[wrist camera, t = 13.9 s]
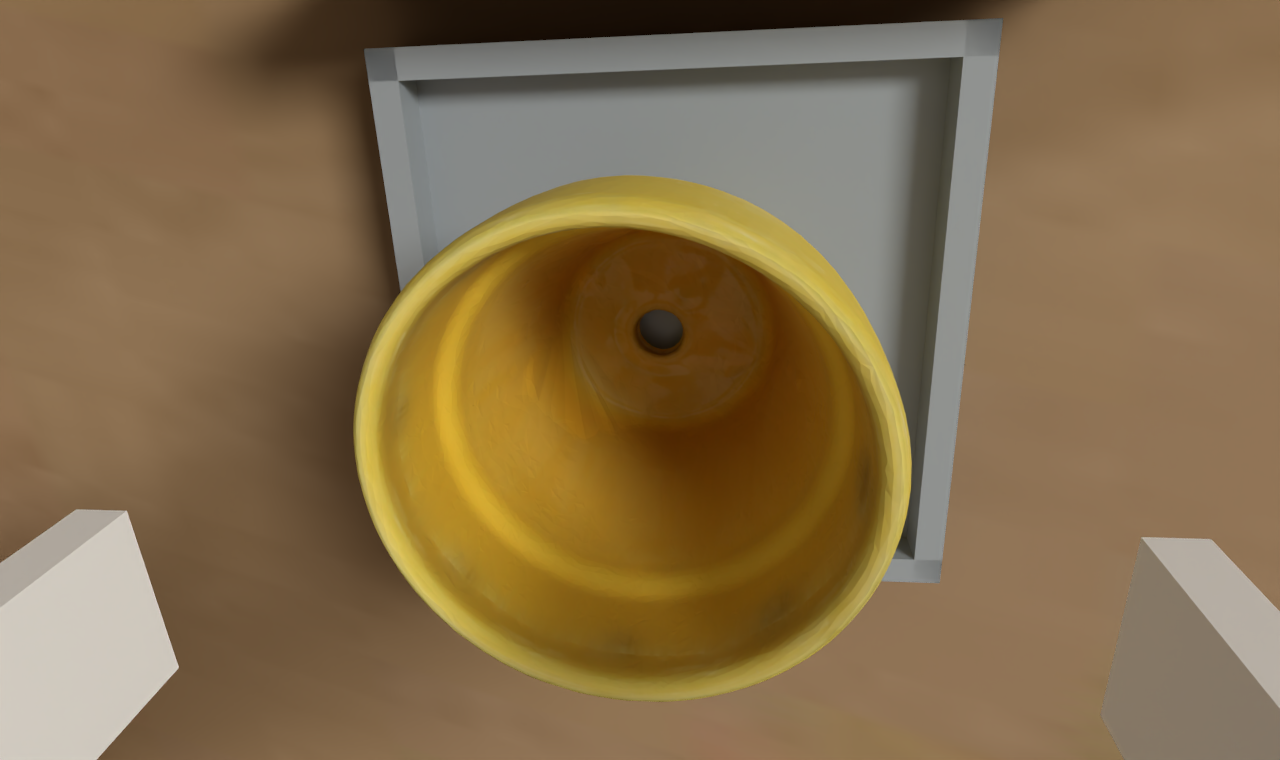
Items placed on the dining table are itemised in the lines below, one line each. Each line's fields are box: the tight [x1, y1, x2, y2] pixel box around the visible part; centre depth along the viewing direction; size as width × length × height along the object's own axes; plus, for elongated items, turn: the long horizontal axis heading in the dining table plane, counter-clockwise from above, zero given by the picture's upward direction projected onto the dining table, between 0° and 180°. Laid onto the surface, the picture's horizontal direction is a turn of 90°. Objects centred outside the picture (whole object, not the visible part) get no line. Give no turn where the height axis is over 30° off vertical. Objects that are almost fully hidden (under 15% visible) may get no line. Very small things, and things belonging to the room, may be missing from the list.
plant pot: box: [353, 175, 912, 702], centre depth 19 cm, size 10×10×10 cm
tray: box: [364, 18, 1003, 583], centre depth 23 cm, size 16×16×2 cm
